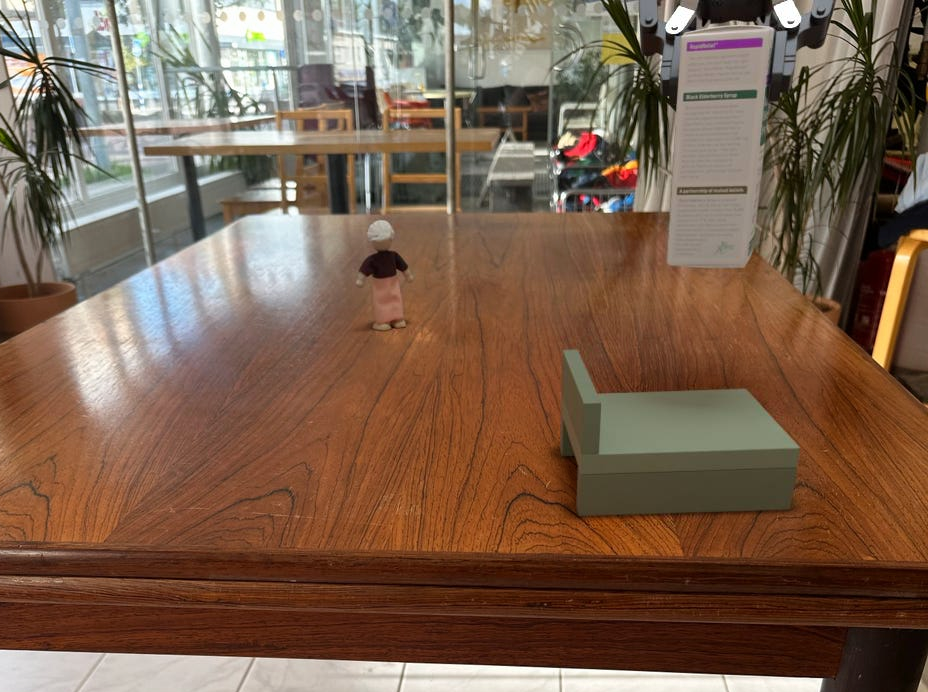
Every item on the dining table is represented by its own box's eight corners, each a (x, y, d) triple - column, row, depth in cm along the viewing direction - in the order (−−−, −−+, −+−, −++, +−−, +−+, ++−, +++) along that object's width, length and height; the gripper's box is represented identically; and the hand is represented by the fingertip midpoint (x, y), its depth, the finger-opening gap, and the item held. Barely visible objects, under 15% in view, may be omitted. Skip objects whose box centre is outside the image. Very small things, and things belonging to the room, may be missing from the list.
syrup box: (747, 269, 66) (777, 22, 59) (662, 267, 68) (681, 27, 60) (752, 254, 71) (781, 24, 63) (673, 253, 72) (692, 29, 65)
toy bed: (738, 447, 79) (751, 343, 75) (789, 514, 67) (809, 395, 63) (559, 453, 79) (562, 349, 75) (578, 521, 67) (583, 403, 63)
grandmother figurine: (401, 320, 124) (395, 215, 118) (419, 324, 121) (413, 217, 115) (353, 330, 120) (344, 222, 113) (371, 335, 117) (362, 225, 111)
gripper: (643, -154, 64) (612, 52, 61) (869, -177, 60) (850, 40, 57) (645, -51, 71) (617, 138, 68) (848, -66, 68) (830, 133, 64)
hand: (724, 92), depth 62 cm, fingers closed on syrup box, 6 cm apart
